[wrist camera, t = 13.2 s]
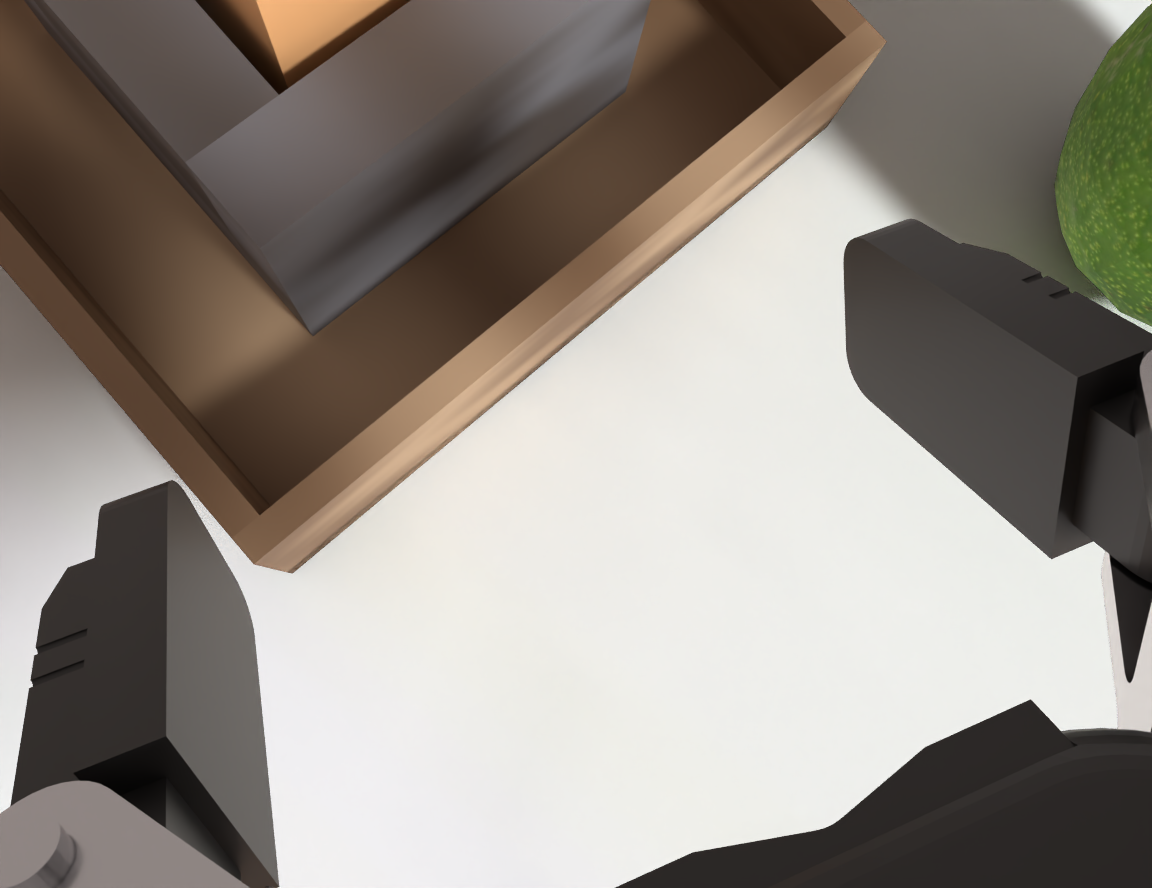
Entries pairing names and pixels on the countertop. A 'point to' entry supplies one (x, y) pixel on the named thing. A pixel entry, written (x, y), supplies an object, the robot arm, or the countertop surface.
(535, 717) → the countertop surface
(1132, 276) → the avocado
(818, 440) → the countertop surface
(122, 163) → the walled tray
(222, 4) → the plug
